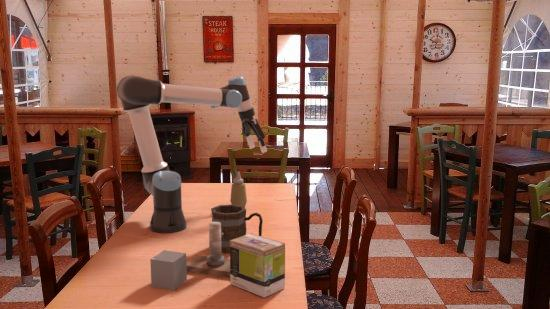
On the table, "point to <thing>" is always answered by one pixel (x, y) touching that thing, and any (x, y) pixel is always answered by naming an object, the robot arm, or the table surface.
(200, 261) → the brown base with rod
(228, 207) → the mug
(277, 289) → the tea box
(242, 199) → the squeeze bottle
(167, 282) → the gray cube
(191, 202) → the table surface
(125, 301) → the table surface
